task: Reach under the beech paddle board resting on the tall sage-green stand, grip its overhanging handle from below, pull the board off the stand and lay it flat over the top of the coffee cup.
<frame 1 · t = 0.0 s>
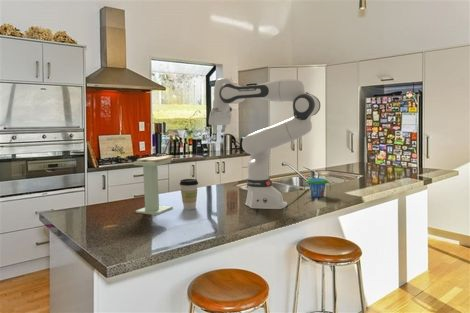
hand: (219, 132, 209), 39 cm above the worktop, tool pointing down, fingers open, 8 cm apart
tall stand: (154, 210, 195), on the worktop
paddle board: (153, 160, 193), point 26 cm above the worktop, touching tall stand
snack cup: (317, 196, 221), on the worktop
coffee cup: (189, 208, 198), on the worktop
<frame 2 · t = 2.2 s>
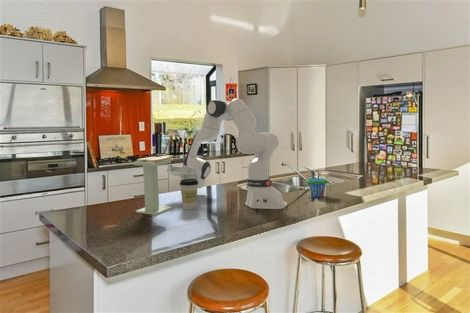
hand: (176, 166, 212), 20 cm above the worktop, tool pointing upward, fingers open, 8 cm apart
nothing on the worktop moved.
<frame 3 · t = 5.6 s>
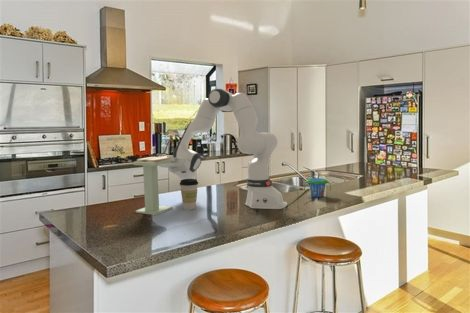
hand: (163, 156, 200), 27 cm above the worktop, tool pointing upward, fingers closed on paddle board, 4 cm apart
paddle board: (153, 160, 193), point 26 cm above the worktop, touching gripper, tall stand
everything else where it was.
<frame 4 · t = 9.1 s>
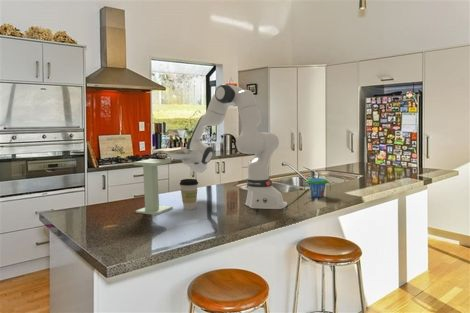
hand: (177, 148, 208), 31 cm above the worktop, tool pointing upward, fingers closed on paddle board, 4 cm apart
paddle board: (168, 151, 200), point 30 cm above the worktop, touching gripper
everything else where it was.
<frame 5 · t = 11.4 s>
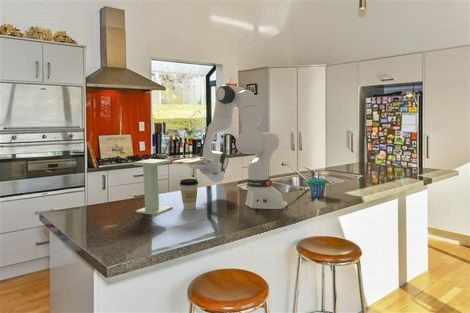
hand: (196, 158, 204), 25 cm above the worktop, tool pointing upward, fingers closed on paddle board, 4 cm apart
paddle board: (188, 162, 196), point 24 cm above the worktop, touching gripper
everything else where it was.
when the fingers open (19 cm above the worktop, at t = 12.9 s): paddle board drops 2 cm, resting on coffee cup.
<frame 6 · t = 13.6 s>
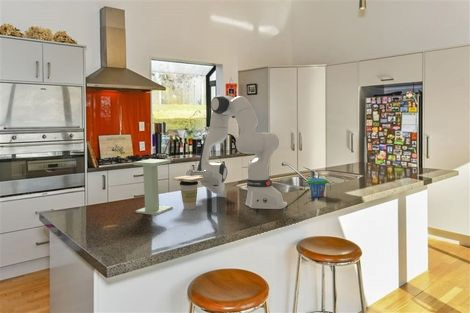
hand: (197, 170, 204), 19 cm above the worktop, tool pointing upward, fingers open, 8 cm apart
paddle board: (188, 179, 197), point 15 cm above the worktop, touching coffee cup
coffee cup: (189, 208, 198), on the worktop, touching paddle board
everything else where it was.
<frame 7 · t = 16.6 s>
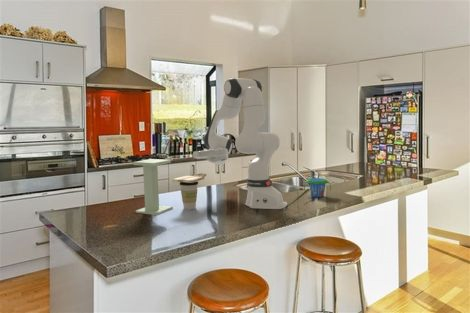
hand: (206, 151, 209), 29 cm above the worktop, tool pointing upward, fingers open, 8 cm apart
nothing on the worktop moved.
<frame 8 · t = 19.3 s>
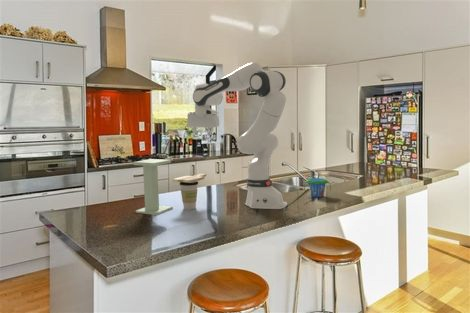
hand: (203, 135, 223), 37 cm above the worktop, tool pointing down, fingers open, 8 cm apart
nothing on the worktop moved.
at the end: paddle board 0.1 cm from the coffee cup (horizontally); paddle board point 15.0 cm above the worktop; the gripper is holding nothing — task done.
